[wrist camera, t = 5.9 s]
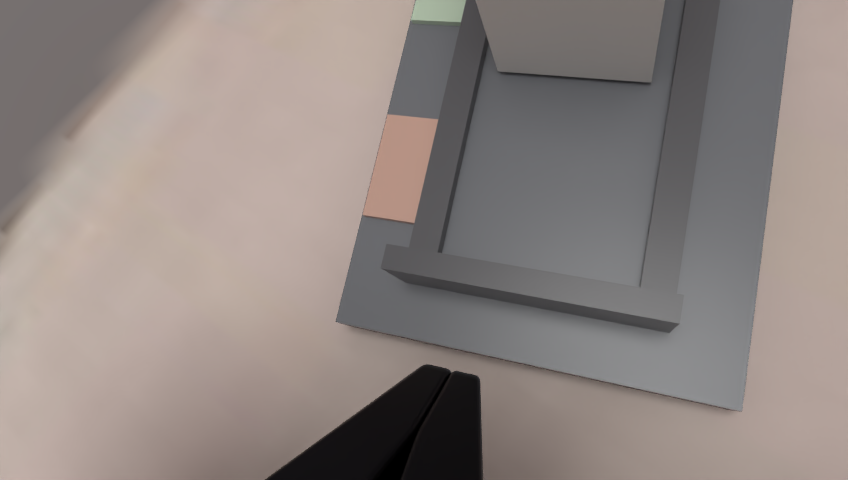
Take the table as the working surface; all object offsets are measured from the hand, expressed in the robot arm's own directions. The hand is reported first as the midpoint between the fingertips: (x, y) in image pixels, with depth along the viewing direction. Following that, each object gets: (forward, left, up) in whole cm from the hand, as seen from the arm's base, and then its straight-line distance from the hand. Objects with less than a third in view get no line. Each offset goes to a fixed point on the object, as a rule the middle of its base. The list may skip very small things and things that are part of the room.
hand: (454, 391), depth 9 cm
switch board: (+7, +4, -7) cm, 11 cm away
